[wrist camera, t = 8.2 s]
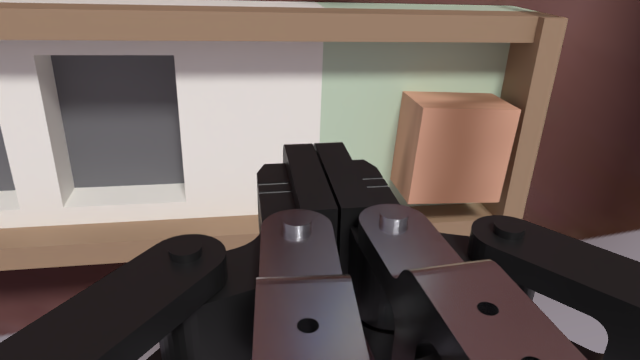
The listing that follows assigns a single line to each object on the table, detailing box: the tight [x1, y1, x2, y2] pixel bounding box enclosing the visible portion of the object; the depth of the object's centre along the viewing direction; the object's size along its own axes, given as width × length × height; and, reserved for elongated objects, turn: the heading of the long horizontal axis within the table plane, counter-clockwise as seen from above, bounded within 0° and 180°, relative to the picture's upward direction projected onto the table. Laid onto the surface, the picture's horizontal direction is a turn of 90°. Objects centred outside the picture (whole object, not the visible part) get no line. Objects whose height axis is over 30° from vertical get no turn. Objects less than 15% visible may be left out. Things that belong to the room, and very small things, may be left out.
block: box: [390, 91, 521, 204], centre depth 27 cm, size 5×5×3 cm
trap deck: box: [0, 0, 568, 271], centre depth 25 cm, size 34×12×5 cm, turn 88°
